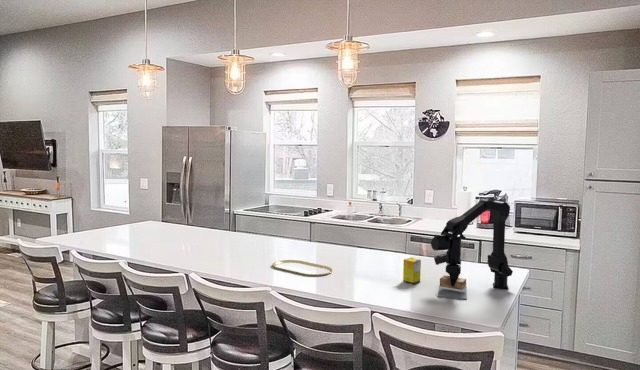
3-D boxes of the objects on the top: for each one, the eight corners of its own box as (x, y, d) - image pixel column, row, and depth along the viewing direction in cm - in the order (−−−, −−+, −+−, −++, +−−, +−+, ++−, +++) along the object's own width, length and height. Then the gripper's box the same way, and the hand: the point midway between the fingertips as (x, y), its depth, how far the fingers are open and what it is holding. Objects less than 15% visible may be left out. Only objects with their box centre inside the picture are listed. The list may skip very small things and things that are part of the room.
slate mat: (439, 285, 220) (439, 284, 220) (466, 287, 216) (466, 286, 216) (437, 296, 202) (437, 295, 202) (466, 299, 199) (466, 298, 199)
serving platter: (316, 279, 228) (316, 276, 228) (265, 267, 249) (265, 264, 249) (339, 271, 242) (339, 268, 242) (288, 261, 264) (288, 258, 264)
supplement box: (410, 279, 229) (411, 257, 228) (420, 282, 224) (421, 259, 223) (402, 281, 225) (403, 259, 224) (412, 284, 220) (413, 261, 219)
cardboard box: (465, 286, 209) (466, 278, 209) (462, 290, 204) (462, 281, 204) (443, 282, 214) (443, 275, 214) (439, 286, 209) (439, 278, 209)
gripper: (436, 243, 219) (435, 276, 220) (434, 252, 201) (432, 287, 202) (461, 245, 216) (460, 278, 217) (461, 254, 198) (460, 290, 199)
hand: (452, 283), depth 209 cm, fingers closed on cardboard box, 7 cm apart
